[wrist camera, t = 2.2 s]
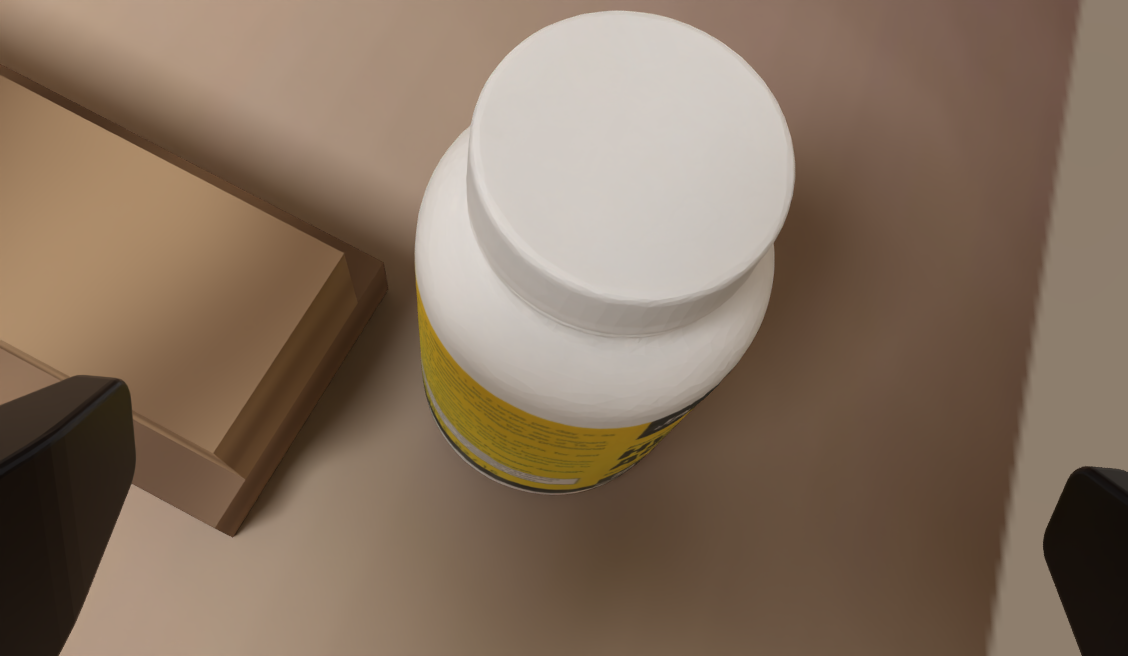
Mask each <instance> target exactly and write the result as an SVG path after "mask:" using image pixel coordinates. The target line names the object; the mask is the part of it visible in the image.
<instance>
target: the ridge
mask: <svg viewBox="0 0 1128 656" xmlns="http://www.w3.org/2000/svg"><path fill="white" fill-rule="evenodd" d="M387 290H388V284H387V279H386V273H385V268H384V262H382V261H380V260H378V259H376V258H374V257H372V256H370V255H368V254H366V253H364V252H362V251H360V250H359V249H357V248H355V247H353V246H351V245H349V244H347V243H345V242H343V241H341V240H339V239H337V238H335V237H333V236H331V235H330V234H328V233H326V232H324V231H322V230H320V229H318V228H316V227H314V226H312V225H310V224H308V223H306V222H304V221H302V220H301V219H299V218H297V217H295V216H293V215H291V214H289V213H287V212H285V211H283V210H281V209H279V208H277V207H275V206H274V205H272V204H270V203H268V202H266V201H264V200H262V199H260V198H258V197H256V196H254V195H252V194H250V193H248V192H246V191H245V190H243V189H241V188H239V187H237V186H235V185H233V184H231V183H229V182H227V181H225V180H223V179H221V178H219V177H218V176H216V175H214V174H212V173H210V172H208V171H206V170H204V169H202V168H200V167H198V166H196V165H194V164H192V163H190V162H189V161H187V160H185V159H183V158H181V157H179V156H177V155H175V154H173V153H171V152H169V151H167V150H165V149H163V148H162V147H160V146H158V145H156V144H154V143H152V142H150V141H148V140H146V139H144V138H142V137H140V136H138V135H136V134H134V133H133V132H131V131H129V130H127V129H125V128H123V127H121V126H119V125H117V124H115V123H113V122H111V121H109V120H107V119H106V118H104V117H102V116H100V115H98V114H96V113H94V112H92V111H90V110H88V109H86V108H84V107H82V106H80V105H78V104H77V103H75V102H73V101H71V100H69V99H67V98H65V97H63V96H61V95H59V94H57V93H55V92H53V91H51V90H49V89H48V88H46V87H44V86H42V85H40V84H38V83H36V82H34V81H32V80H30V79H28V78H26V77H24V76H22V75H21V74H19V73H17V72H15V71H13V70H11V69H9V68H7V67H5V66H3V65H1V64H0V405H2V404H4V403H7V402H9V401H12V400H14V399H17V398H19V397H22V396H24V395H27V394H29V393H32V392H34V391H37V390H39V389H42V388H44V387H47V386H49V385H52V384H55V383H57V382H60V381H62V380H65V379H67V378H70V377H72V376H75V375H92V376H103V377H114V378H119V379H122V380H123V381H124V382H125V383H126V384H127V385H128V388H129V391H130V394H131V403H132V414H133V425H134V436H135V447H136V467H135V473H134V477H133V481H132V484H134V485H136V486H137V487H139V488H141V489H143V490H145V491H147V492H149V493H150V494H152V495H154V496H156V497H158V498H160V499H162V500H163V501H165V502H167V503H169V504H171V505H173V506H174V507H176V508H178V509H180V510H182V511H184V512H186V513H187V514H189V515H191V516H193V517H195V518H197V519H199V520H200V521H202V522H204V523H206V524H208V525H210V526H211V527H213V528H215V529H217V530H219V531H221V532H223V533H225V534H227V535H229V536H231V537H233V536H234V535H235V533H236V532H237V530H238V528H239V527H240V525H241V524H242V522H243V520H244V519H245V517H246V516H247V514H248V512H249V511H250V509H251V508H252V506H253V504H254V503H255V501H256V500H257V498H258V496H259V495H260V493H261V492H262V490H263V488H264V487H265V485H266V484H267V482H268V480H269V479H270V477H271V476H272V474H273V472H274V471H275V469H276V468H277V466H278V464H279V463H280V461H281V460H282V458H283V456H284V455H285V453H286V452H287V450H288V449H289V447H290V445H291V444H292V442H293V441H294V439H295V437H296V436H297V434H298V433H299V431H300V429H301V428H302V426H303V425H304V423H305V421H306V420H307V418H308V417H309V415H310V413H311V412H312V410H313V409H314V407H315V405H316V404H317V402H318V401H319V399H320V397H321V396H322V394H323V393H324V391H325V389H326V388H327V386H328V385H329V383H330V381H331V380H332V378H333V377H334V375H335V373H336V372H337V370H338V369H339V367H340V365H341V364H342V362H343V361H344V359H345V357H346V356H347V354H348V353H349V351H350V349H351V348H352V346H353V345H354V343H355V341H356V340H357V338H358V337H359V335H360V333H361V332H362V330H363V329H364V327H365V325H366V324H367V322H368V321H369V319H370V317H371V316H372V314H373V313H374V311H375V309H376V308H377V306H378V305H379V303H380V302H381V300H382V298H383V297H384V295H385V294H386V292H387Z"/></svg>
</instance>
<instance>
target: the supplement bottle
mask: <svg viewBox="0 0 1128 656" xmlns="http://www.w3.org/2000/svg"><path fill="white" fill-rule="evenodd" d="M794 183H795V157H794V150H793V144H792V139H791V136H790V133H789V129H788V126H787V123H786V120H785V117H784V115H783V113H782V110H781V108H780V106H779V104H778V102H777V100H776V99H775V97H774V95H773V94H772V92H771V91H770V89H769V88H768V86H767V85H766V84H765V82H764V81H763V79H762V78H761V77H760V76H759V75H758V74H757V73H756V72H755V70H754V69H753V68H752V67H751V66H750V65H749V64H748V63H747V62H746V61H745V60H744V59H743V58H742V57H741V56H739V55H738V54H737V53H735V52H734V51H733V50H731V49H730V48H729V47H728V46H726V45H725V44H724V43H722V42H721V41H719V40H717V39H716V38H714V37H712V36H711V35H709V34H707V33H705V32H703V31H701V30H699V29H697V28H695V27H693V26H690V25H688V24H685V23H683V22H680V21H677V20H675V19H672V18H669V17H664V16H660V15H655V14H649V13H642V12H633V11H603V12H595V13H587V14H581V15H578V16H575V17H571V18H568V19H564V20H562V21H559V22H557V23H554V24H551V25H549V26H546V27H544V28H543V29H541V30H539V31H537V32H535V33H534V34H532V35H531V36H529V37H528V38H527V39H525V40H524V41H522V42H521V43H520V44H519V45H517V46H516V47H515V48H514V49H513V50H512V51H511V52H510V53H509V54H508V55H507V56H506V57H505V58H504V59H503V60H502V61H501V62H500V64H499V65H498V66H497V68H496V69H495V70H494V71H493V73H492V74H491V75H490V77H489V79H488V80H487V82H486V83H485V85H484V87H483V89H482V91H481V94H480V96H479V99H478V102H477V104H476V107H475V109H474V113H473V117H472V122H471V125H470V126H469V127H468V128H467V129H466V130H465V131H463V132H462V133H461V134H460V135H459V137H458V138H457V139H456V140H455V141H454V142H453V144H452V145H451V146H450V147H449V148H448V150H447V151H446V153H445V154H444V156H443V157H442V158H441V160H440V162H439V163H438V165H437V167H436V168H435V170H434V172H433V174H432V176H431V179H430V181H429V183H428V185H427V188H426V190H425V194H424V197H423V200H422V204H421V207H420V210H419V215H418V222H417V229H416V240H415V276H416V290H417V304H418V323H419V335H420V348H421V366H422V375H423V382H424V388H425V393H426V397H427V401H428V405H429V408H430V410H431V413H432V415H433V418H434V420H435V422H436V424H437V426H438V428H439V429H440V431H441V433H442V435H443V436H444V437H445V439H446V440H447V442H448V443H449V444H450V446H451V447H452V448H453V449H454V450H455V452H456V453H457V454H458V455H459V456H460V457H461V458H462V459H463V460H464V461H465V462H467V463H468V464H469V465H470V466H472V467H473V468H474V469H476V470H477V471H478V472H480V473H481V474H483V475H485V476H486V477H488V478H490V479H491V480H493V481H496V482H498V483H500V484H502V485H505V486H508V487H511V488H514V489H517V490H521V491H525V492H530V493H537V494H548V495H560V494H571V493H577V492H582V491H586V490H589V489H592V488H595V487H598V486H601V485H603V484H605V483H607V482H609V481H611V480H613V479H615V478H617V477H618V476H620V475H622V474H623V473H624V472H626V471H627V470H629V469H630V468H632V467H633V466H634V465H636V464H637V463H638V462H639V461H640V460H642V459H643V458H644V457H645V456H646V455H647V454H648V453H649V452H651V451H652V450H653V449H654V448H655V446H656V445H657V444H658V443H659V442H660V441H661V440H662V439H663V438H664V437H665V436H666V435H667V434H668V433H669V432H670V431H671V430H672V429H673V428H674V427H675V426H676V425H677V424H678V423H679V422H680V421H681V420H682V419H683V418H684V417H685V416H686V415H687V414H688V413H689V412H690V411H692V410H693V409H694V407H695V406H696V405H697V404H698V403H699V402H700V401H702V400H703V399H704V398H705V397H706V396H708V395H709V394H710V393H711V392H712V391H713V390H714V389H715V388H716V387H717V386H718V385H719V384H720V382H721V381H722V380H723V379H724V378H725V377H726V376H727V375H728V374H729V373H730V372H731V370H732V369H733V368H734V366H736V365H737V364H738V363H739V361H740V359H741V357H742V356H743V355H744V353H745V352H746V350H747V349H748V347H749V346H750V344H751V343H752V341H753V339H754V337H755V336H756V334H757V332H758V330H759V328H760V325H761V323H762V321H763V318H764V315H765V312H766V309H767V306H768V303H769V299H770V294H771V290H772V284H773V277H774V241H775V240H776V238H777V236H778V234H779V233H780V231H781V229H782V227H783V225H784V222H785V220H786V217H787V214H788V211H789V208H790V204H791V200H792V197H793V191H794Z"/></svg>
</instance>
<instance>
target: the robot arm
mask: <svg viewBox="0 0 1128 656" xmlns="http://www.w3.org/2000/svg"><path fill="white" fill-rule="evenodd" d="M135 467H136V447H135V436H134V425H133V414H132V403H131V394H130V391H129V388H128V385H127V384H126V383H125V382H124V381H123V380H122V379H119V378H114V377H103V376H92V375H75V376H72V377H70V378H67V379H65V380H62V381H60V382H57V383H55V384H52V385H49V386H47V387H44V388H42V389H39V390H37V391H34V392H32V393H29V394H27V395H24V396H22V397H19V398H17V399H14V400H12V401H9V402H7V403H4V404H2V405H0V656H59V654H60V652H61V650H62V649H63V647H64V645H65V643H66V641H67V639H68V637H69V635H70V633H71V631H72V629H73V627H74V625H75V623H76V621H77V618H78V616H79V614H80V611H81V609H82V607H83V604H84V602H85V600H86V597H87V595H88V592H89V589H90V587H91V584H92V582H93V579H94V577H95V574H96V572H97V569H98V567H99V564H100V562H101V559H102V557H103V554H104V552H105V549H106V547H107V544H108V542H109V539H110V537H111V534H112V532H113V529H114V527H115V524H116V521H117V519H118V516H119V514H120V511H121V509H122V506H123V504H124V501H125V499H126V496H127V494H128V491H129V489H130V486H131V484H132V481H133V477H134V473H135ZM1043 550H1044V556H1045V560H1046V563H1047V565H1048V568H1049V571H1050V573H1051V576H1052V578H1053V581H1054V583H1055V586H1056V589H1057V592H1058V594H1059V597H1060V600H1061V602H1062V605H1063V607H1064V610H1065V612H1066V615H1067V618H1068V621H1069V623H1070V625H1071V628H1072V631H1073V634H1074V636H1075V639H1076V642H1077V644H1078V647H1079V649H1080V652H1081V655H1082V656H1128V472H1126V471H1124V470H1120V469H1112V468H1102V467H1088V466H1085V467H1081V468H1079V469H1077V470H1075V471H1074V472H1073V473H1072V474H1071V475H1070V477H1069V479H1068V480H1067V483H1066V485H1065V487H1064V489H1063V492H1062V494H1061V496H1060V498H1059V501H1058V503H1057V505H1056V507H1055V510H1054V512H1053V514H1052V517H1051V519H1050V521H1049V523H1048V526H1047V528H1046V531H1045V534H1044V540H1043Z"/></svg>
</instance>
